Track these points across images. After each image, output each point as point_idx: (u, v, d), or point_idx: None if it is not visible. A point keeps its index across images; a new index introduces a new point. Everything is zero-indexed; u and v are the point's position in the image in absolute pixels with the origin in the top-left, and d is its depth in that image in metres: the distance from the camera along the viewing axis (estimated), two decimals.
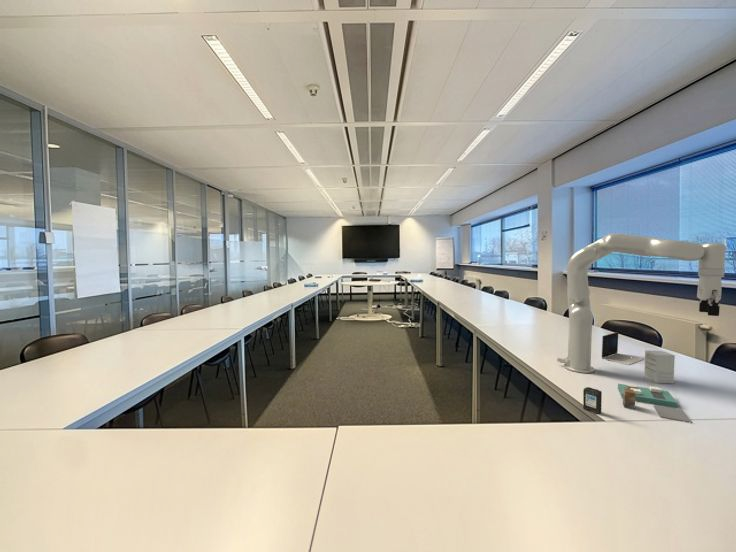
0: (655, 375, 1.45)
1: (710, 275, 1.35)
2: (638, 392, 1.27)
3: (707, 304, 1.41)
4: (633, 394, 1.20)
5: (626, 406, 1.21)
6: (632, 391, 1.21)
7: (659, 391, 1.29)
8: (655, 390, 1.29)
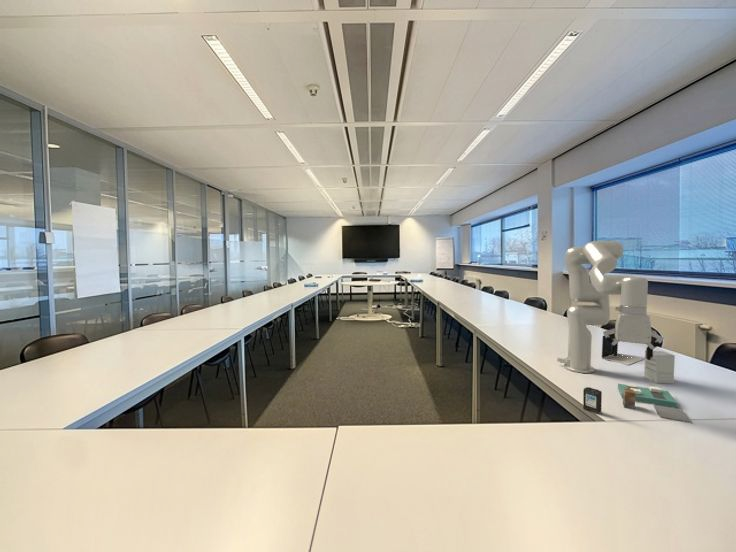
0: (655, 375, 1.45)
1: None
2: (638, 392, 1.27)
3: None
4: (633, 394, 1.20)
5: (626, 406, 1.21)
6: (632, 391, 1.21)
7: (659, 391, 1.29)
8: (655, 390, 1.29)
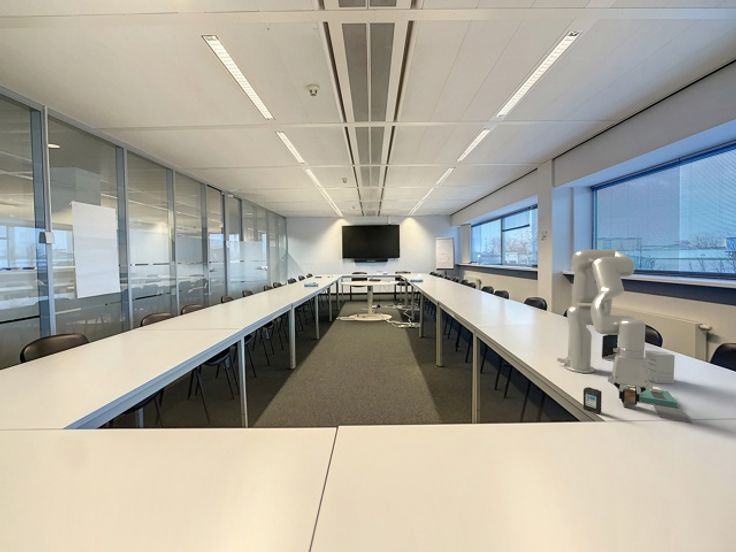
0: (655, 375, 1.45)
1: (643, 357, 1.18)
2: None
3: None
4: (633, 394, 1.19)
5: (626, 406, 1.21)
6: (632, 391, 1.21)
7: (659, 391, 1.29)
8: (655, 390, 1.29)
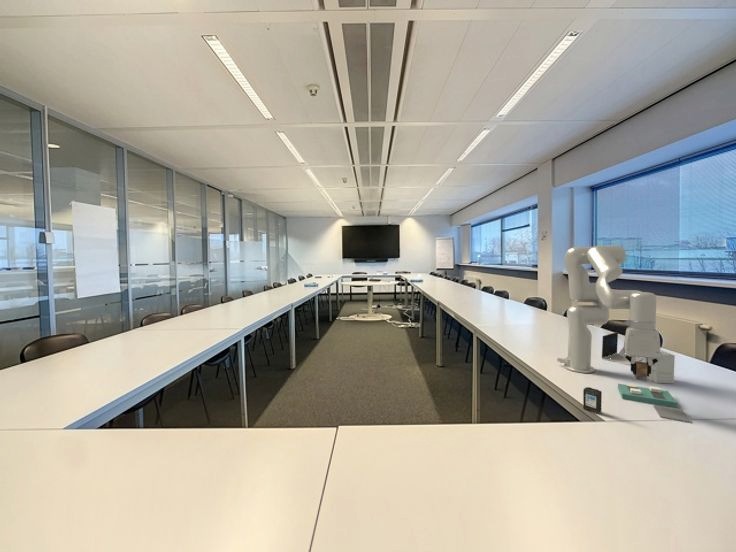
0: (655, 375, 1.45)
1: None
2: (638, 392, 1.27)
3: None
4: (645, 366, 1.20)
5: (638, 378, 1.22)
6: (644, 363, 1.22)
7: (659, 391, 1.29)
8: (655, 390, 1.29)
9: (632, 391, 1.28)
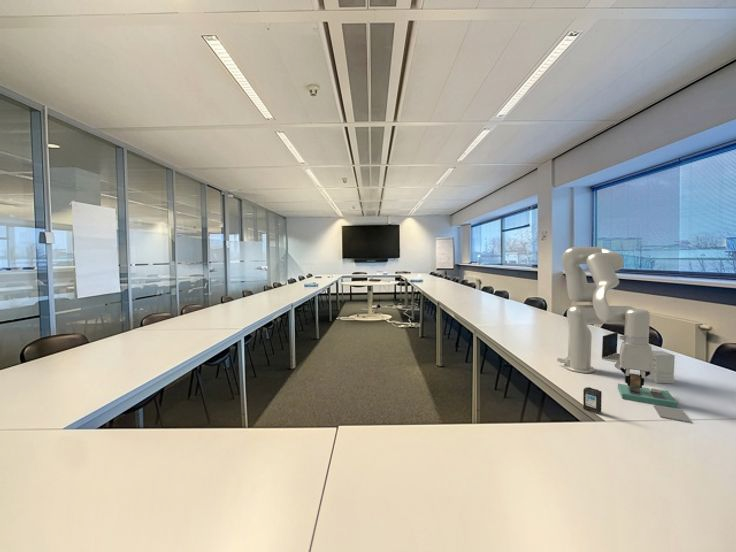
0: (655, 375, 1.45)
1: (648, 344, 1.28)
2: None
3: None
4: (638, 378, 1.29)
5: (632, 389, 1.30)
6: (637, 375, 1.30)
7: (659, 391, 1.29)
8: (655, 390, 1.29)
9: None
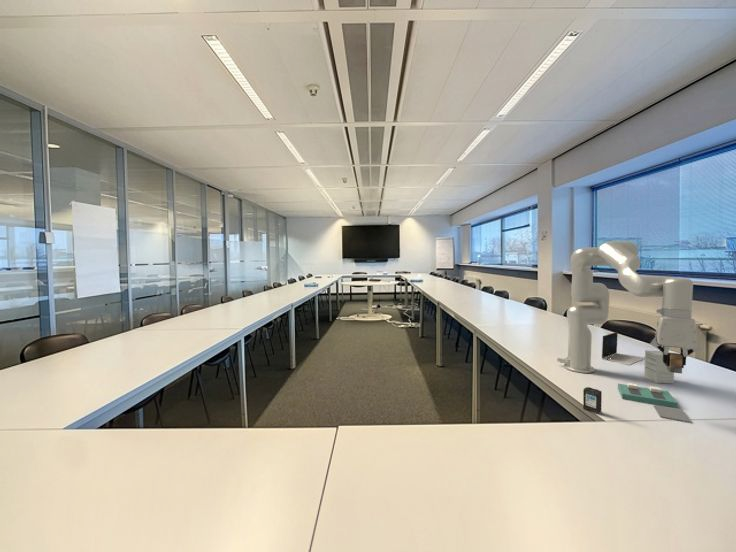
0: (655, 375, 1.45)
1: None
2: (635, 387, 1.33)
3: None
4: (680, 357, 1.12)
5: (672, 370, 1.13)
6: (678, 354, 1.14)
7: (659, 391, 1.29)
8: (655, 390, 1.29)
9: (629, 386, 1.33)
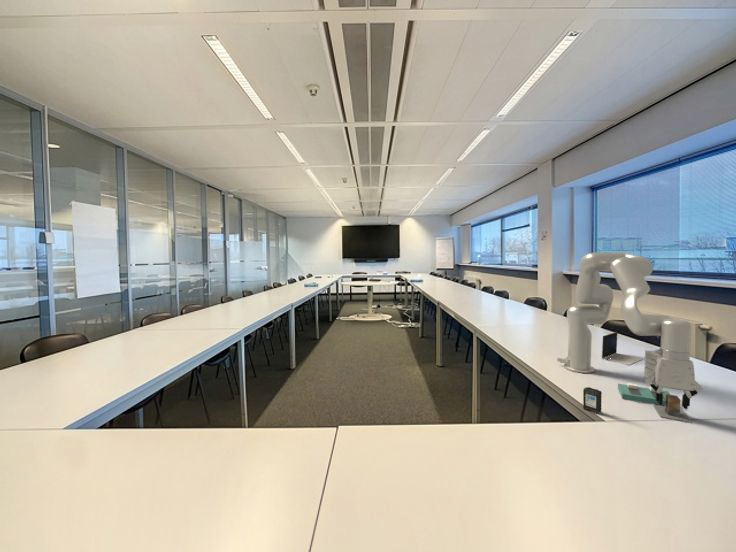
0: None
1: (689, 359, 1.12)
2: (635, 387, 1.33)
3: None
4: (678, 401, 1.13)
5: (670, 413, 1.14)
6: (676, 397, 1.14)
7: None
8: None
9: (629, 386, 1.33)
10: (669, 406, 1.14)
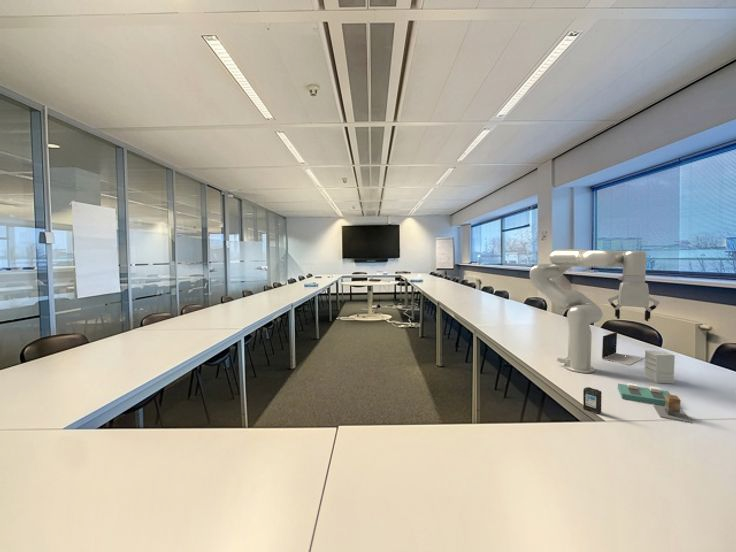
0: (655, 375, 1.45)
1: (644, 282, 1.38)
2: (635, 387, 1.33)
3: None
4: (678, 401, 1.13)
5: (670, 413, 1.14)
6: (676, 397, 1.14)
7: (659, 391, 1.29)
8: (655, 390, 1.29)
9: (629, 386, 1.33)
10: (669, 406, 1.14)
